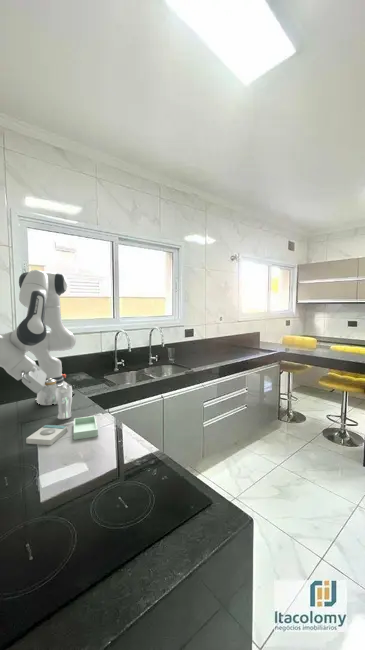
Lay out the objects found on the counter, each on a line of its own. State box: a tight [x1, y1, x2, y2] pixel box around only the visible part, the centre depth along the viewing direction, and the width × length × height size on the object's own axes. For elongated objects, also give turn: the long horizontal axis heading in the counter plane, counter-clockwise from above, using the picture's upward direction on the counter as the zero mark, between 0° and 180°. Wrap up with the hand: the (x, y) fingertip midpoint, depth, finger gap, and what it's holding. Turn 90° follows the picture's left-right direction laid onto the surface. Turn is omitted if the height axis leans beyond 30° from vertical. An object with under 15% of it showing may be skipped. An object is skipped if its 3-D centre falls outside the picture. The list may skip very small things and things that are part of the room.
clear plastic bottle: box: [56, 383, 73, 421], centre depth 132 cm, size 7×7×15 cm
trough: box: [72, 415, 99, 441], centre depth 118 cm, size 15×9×3 cm, turn 21°
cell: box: [44, 378, 56, 406], centre depth 111 cm, size 4×4×10 cm
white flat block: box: [25, 424, 68, 446], centre depth 112 cm, size 12×10×2 cm
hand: (51, 391), depth 111 cm, fingers closed on cell, 4 cm apart
